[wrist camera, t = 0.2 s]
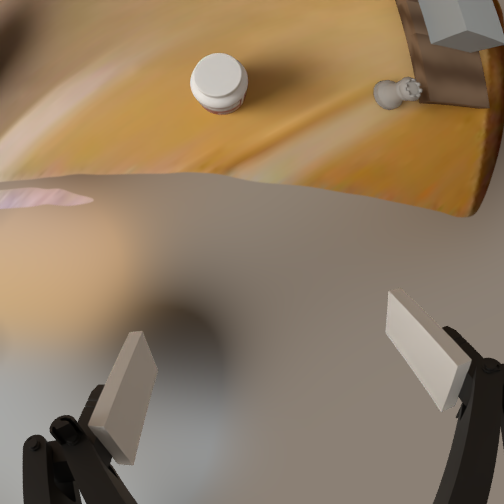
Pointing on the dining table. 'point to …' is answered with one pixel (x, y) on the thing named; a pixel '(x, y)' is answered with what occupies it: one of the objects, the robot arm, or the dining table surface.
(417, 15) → the socket board
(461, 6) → the block
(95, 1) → the dining table surface
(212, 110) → the pill bottle
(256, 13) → the dining table surface
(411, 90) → the rook chess piece
